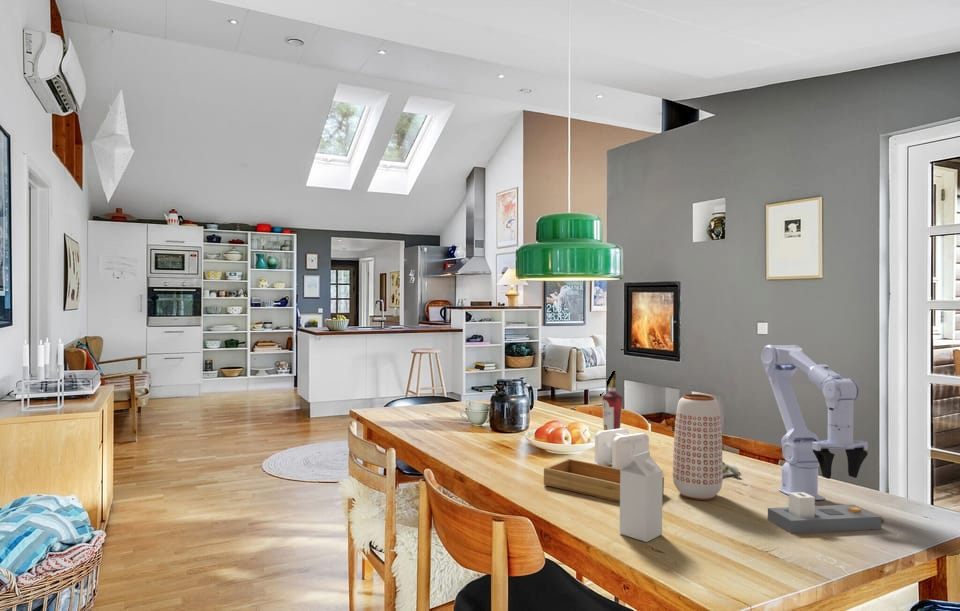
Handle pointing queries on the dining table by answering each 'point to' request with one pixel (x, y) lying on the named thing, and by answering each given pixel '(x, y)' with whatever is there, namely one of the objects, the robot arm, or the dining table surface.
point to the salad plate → (729, 470)
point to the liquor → (612, 407)
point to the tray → (585, 478)
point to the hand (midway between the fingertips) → (839, 477)
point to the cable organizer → (619, 447)
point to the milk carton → (641, 498)
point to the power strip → (826, 519)
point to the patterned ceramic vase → (698, 447)
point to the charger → (801, 505)
